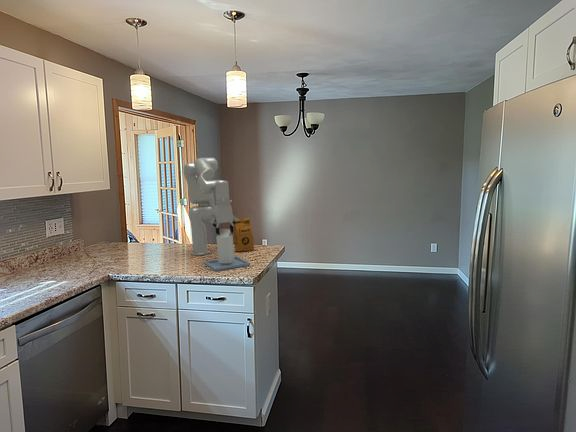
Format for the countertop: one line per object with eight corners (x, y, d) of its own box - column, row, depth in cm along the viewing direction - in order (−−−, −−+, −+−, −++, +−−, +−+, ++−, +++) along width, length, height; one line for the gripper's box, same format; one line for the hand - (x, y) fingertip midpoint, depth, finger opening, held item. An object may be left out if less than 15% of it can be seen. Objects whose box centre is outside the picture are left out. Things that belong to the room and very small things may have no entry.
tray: (205, 264, 228) (204, 261, 228) (237, 259, 237) (237, 256, 237) (215, 271, 210) (215, 268, 210) (249, 265, 219) (249, 262, 219)
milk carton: (230, 263, 219) (227, 230, 217) (218, 263, 221) (215, 230, 218) (234, 260, 226) (232, 227, 224) (223, 260, 228) (220, 228, 225)
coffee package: (255, 251, 259) (253, 218, 257) (236, 253, 256) (234, 219, 253) (252, 248, 269) (250, 216, 266) (234, 250, 265) (232, 218, 263)
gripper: (235, 201, 227) (237, 231, 229) (205, 203, 219) (208, 234, 221) (239, 201, 220) (241, 232, 222) (209, 204, 212) (211, 236, 214)
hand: (224, 233), depth 222 cm, fingers closed on milk carton, 7 cm apart
